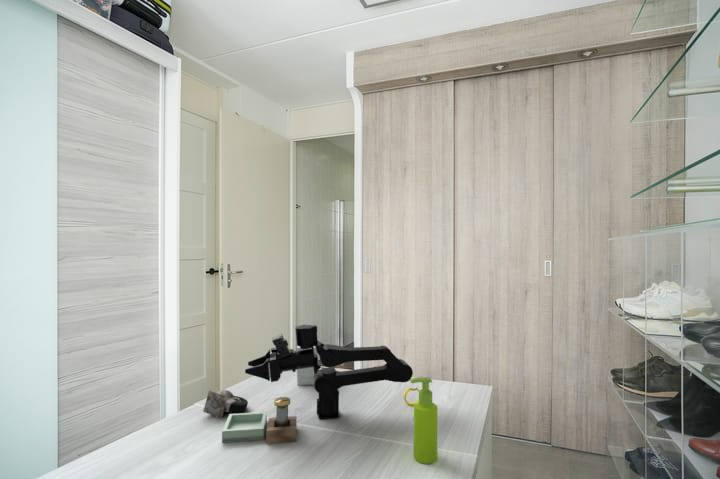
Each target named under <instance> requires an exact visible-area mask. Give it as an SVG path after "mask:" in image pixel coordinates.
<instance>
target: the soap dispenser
mask: <svg viewBox="0 0 720 479" xmlns="http://www.w3.org/2000/svg"><path fill="white" fill-rule="evenodd" d="M409 382H410V383H411V384H415V383H422V384H421V385H422V386H421V389H419V391H418V400H419V402H417V401H416V402H414V403H415V404H414V405H413V459H414V460H415V461H416V462H417V463H420V464H423V465H433V464H435V463H436V462H437V461H438V405H437V404H436V403H434V402H433V391H431V389H430V383H431V384H432V383H433V382H432V378H430V377H423V376H422V377H420V376H419V377H414V378H411V379H410V381H409Z"/></svg>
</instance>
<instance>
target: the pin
mask: <svg viewBox="0 0 720 479" xmlns="http://www.w3.org/2000/svg"><path fill="white" fill-rule="evenodd" d="M273 402H274V403H273V404H274V406H275V407H276V414H275V415H276V427H286V426H288V417H289V405H290V404H291V398H289V397H286V396H281V397H277V398H275V399H274V401H273Z"/></svg>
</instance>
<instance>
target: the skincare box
mask: <svg viewBox="0 0 720 479" xmlns="http://www.w3.org/2000/svg"><path fill="white" fill-rule="evenodd" d="M313 347H314V354H316V355H317V356H318V357H319V354H318V353H317V351H316V348H315V346H313ZM309 349H312V348H309ZM298 350H305V349H301V348H300V346H297V345H296V349H295V351H298ZM297 354H298V352H297ZM314 374H315V373H314V370H313V367H311V368H304V369H298V370H296V380H297V381H296V382H297V386H307V385H308V386H309V385H313V386H314V383H313V376H314Z"/></svg>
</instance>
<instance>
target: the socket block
mask: <svg viewBox="0 0 720 479" xmlns="http://www.w3.org/2000/svg"><path fill="white" fill-rule="evenodd" d="M297 417H298V416H295V415H294V416H288V426H286V427H276V417H268V419H267V424H266V430H265V435H266V437H265V438H266V440H265V441H266V442H265V443H266V445H267V444H268V445H269V444H281V443H296V442H297V430H298V429H297V428H298V427H297Z"/></svg>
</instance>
